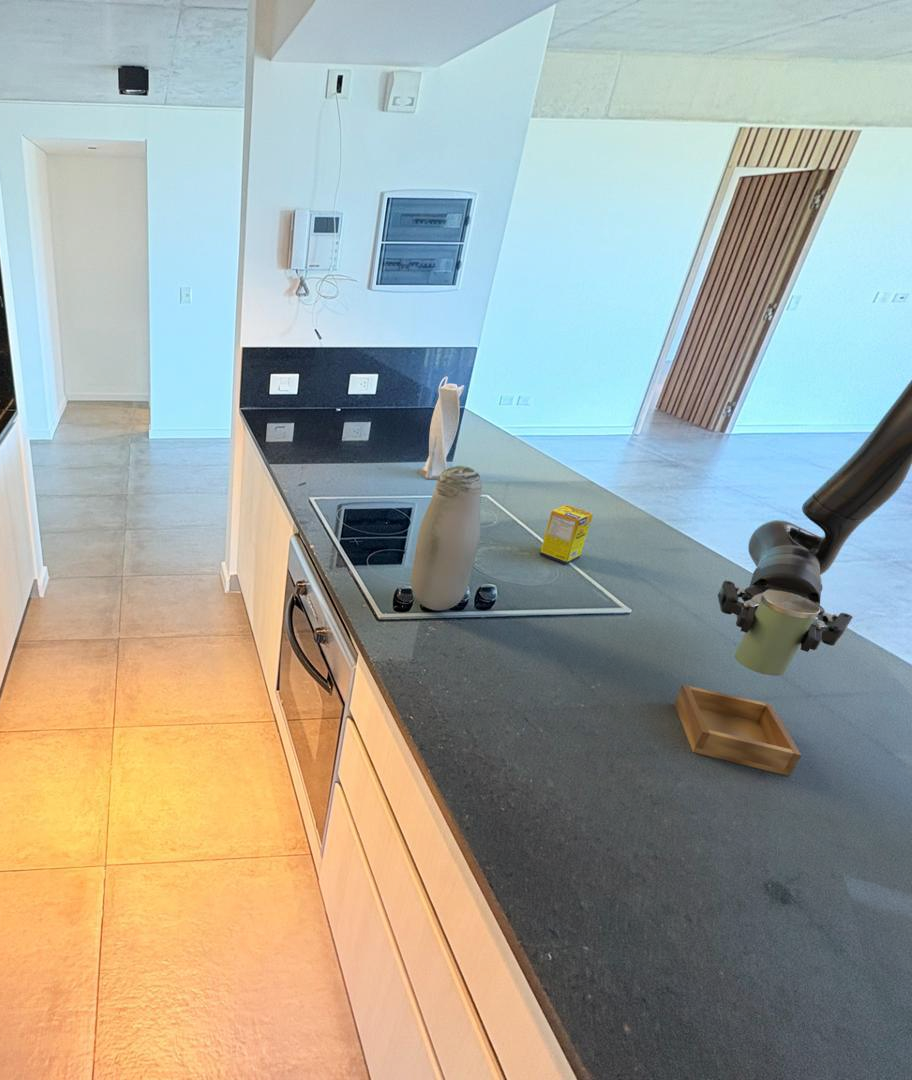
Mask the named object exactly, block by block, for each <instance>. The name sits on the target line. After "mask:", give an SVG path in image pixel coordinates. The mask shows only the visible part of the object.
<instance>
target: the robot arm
mask: <svg viewBox="0 0 912 1080" xmlns="http://www.w3.org/2000/svg"><path fill="white" fill-rule="evenodd" d="M911 467H912V379H911V380H910V381H909V383H908V384H907V385H906V387H905V388H904V389H903V391H902V392H901V393H900V394H899V396H898V398H897V399H896V400H895V401H894V403H893V404H892V405H891V406H890V408H889V409H888V410H887V412H886V413H885V414H884V415H883V417H881V419H880V421H878V423H877V425H876V426H875V427H874V429H873V430H872V431H871V432H870V434H869V435H868V436H867V438H865V440H864V441H863V442H862V444H861V445H860V446H859V448H857V450H856V451H855V452H854V453H853V454H852V455H851V456H850V457H849V458H848V459H847V460H846V461H845V463H844V464H842V465H841V466H840V467H839V468H838V469H837V470H836V471H835V472H834V473H833V474H832V475H831V476H830V477H829V478H828V479H827V480H826V481H825V482H824V483H823V484H822V485H821V486H819V487H818V488H817V489H816V490H815V491H814V492H813V493H812V494H811V495H809V497H808V498H807V499H806V500H805V501H804V502H803V504H802V506H801V512H802V513H803V515H804V516H805V517H806V518H807V519H809V521H811V522H812V523H814V524H815V525H816V526H817V527H819V528H820V529H821V530H822V532H823V533H824V535H823V536H819V535H817V534H815V533H814V532H811V531H809V530H807V529H805V528H803V527H801V526H799V525H796V524H795V523H792V522H790V521H787V520H783V519H782V520H781V519H776V520H770V521H767V522H765V523H762V524H761V525H759V526H758V527H757V528H756V529H755V530H754V531H753V533H752V534H751V536H750V538H749V540H748V547H747V548H748V549H747V550H748V554H749V557H750V559H751V560H752V561H753V563H754V565H755V566H756V567H755V569H754V571H753V573H752V576H751V580H750V583H749V586H748V587H746V588H745V589H743V588H740V587H739V586H736V585H735V583H734V582H732V581H730V580H724V581H723V582H722V585H721V587H720V589H719V592H718V593H717V599H718V603H719V608H720V611H721V612H722V613H723V614H725V615H732V614H734V615H735V616H736V622H735V625H736V627H737V628H740V632H743V633H745V632H746V633H747V632H748V630H749V628H750V626H751V624H752V622H753V620H754V616H755V612H756V610H757V608H758V605H759V603H760V601H761V597H762V595H763V593H764V592H766V591H772V590H775V591H784V592H789V593H792V594H796V595H799V596H802V597H804V598H806V599H809V600H811V601H812V602H814V603H815V604H817V605H818V606H819V608H820V612H819V614H818V616H817V617H815V619H814V621H813V622H812V624H811V626H810V628H809V630H808V632H807V633H806V635H805V637H804V639H803V641H802V642H801V644H800V651H803V652H807V653H808V652H809V651H810V650H811V651H816V650H817V649H818V647H819V646H820V644H821V643H823V644H825V645H828V646H835V645H836V643H837V642H838V641H839V640H840V638H841V637H842V636H843V634H844V633H845V632H846V630H847V628H848V627H849V625H850V623H851V621H852V619H853V616H852V615H851V614H849V613H845V612H840V613H839V614H831V613H828V612H826V611H825V608H823V606H822V605H821V596H822V591H823V584H822V576H821V575H823V574H825V573H826V572H827V571H828V570H829V569H830V568H831V566H832V565H833V564H834V562H835V560H836V559H837V557H838V555H839V553H840V552H841V550H842V548H843V547H844V545H845V543H846V542H847V540H848V539H849V537H850V536H851V535H852V534H853V533H854V532H855V530H856V529H857V528H858V527H859V526H860V525H861V524H862V523H864V522H865V521H866V520H867V519H868V518H869V517H870V516H872V515H873V514H874V513H875V512H876V511H877V510H878V509H880V508H881V507H882V506H883V505H884V504H885V503H887V502H888V501H889V500H890V499H891V498H892V497H893V496H894V495H895V494H896V492H898V491H899V489H900V487H902V485H903V483H904V482H905V480H906V478H907V476H908V474H909V471H910V469H911ZM739 598H741V600H742V601H743V602H741V601H739ZM822 622H823V623H824V624H823V623H822Z"/></svg>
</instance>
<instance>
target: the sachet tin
mask: <svg viewBox="0 0 912 1080" xmlns="http://www.w3.org/2000/svg"><path fill="white" fill-rule="evenodd" d="M819 612H820V608H819V606H818V605H817V604H815V603H814V602H812V601H811V600H809V599H806V598H804V597H802V596H799V595H796V594H792V593H789V592H784V591H775V590H772V591H766V592H764V593H763V595H762V597H761V601H760V603H759V605H758V608H757V610H756V612H755V616H754V620H753V622H752V624H751V626H750V628H749V630H748V632H747V633H746V632H744V634H743V636H742V637H741V639H740V642H739V644H738V646H737V648H736V650H735V652H734V656H733V657H734V659H735V660H736V661H737V662H738V663H739V664H740V665H741V666H743V667H744V668H747V669H749V670H751V671H753V672H756V673H758V674H762V675H766V676H772V677H773V676H774V677H777V676H779V677H780V676H783V675H785V673H786V671H787V670H788V668H789V666H790V665H791V663H792V661H793V659H794V657H795V655H796V653H797V652H798V650H799V648H800V647H801V642H802V641H803V639H804V637H805V635H806V633H807V632H808V630H809V628H810V626H811V624H812V622H813V621H814V619H815V617H817V616H818V614H819Z"/></svg>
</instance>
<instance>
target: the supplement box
mask: <svg viewBox="0 0 912 1080" xmlns="http://www.w3.org/2000/svg"><path fill="white" fill-rule="evenodd" d="M550 513H551V514H550V516H549V520H548V523H547V526H546V529H545V534H544V538H543V541H542V545H541V549H540V552H539V556H542V557H545V558H548V559H549V560H552V561H555V562H558V563H560V564H563V565H565V566H566V565H568V564H570V563H572V562H574V561H576V560H578V559H580V557H581V554H582V552H583V547H584V545H585V542H586V539H587V535H588V532H589V529H590V526H591V523H592V519H593V516H594V513H593V512H590V511H587V510H583V509H580V508H577V507H574V506H571V505H568V504H564V505H562V506H559V507H557V508H555V509H552V510H551V512H550Z"/></svg>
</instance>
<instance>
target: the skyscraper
mask: <svg viewBox="0 0 912 1080" xmlns="http://www.w3.org/2000/svg"><path fill="white" fill-rule="evenodd" d="M448 379H449V377H448V375H447V376H444V377H442V380H440V383H439V384H438V389H437V390H438V399H437V401H436V403H435V406H434V409H433V413H432V416H431V421H430V427H429V438H428V457H427V459H426V461H425V464H424V466H423V468H422V469H416V472H417V473H418V474H419V475H420V476H422V477H423V478H424V479H426V481H429V480H438V478H439V476H440V475H441V473H442V472H443V471H445V470H446V469H448V464H447V457H448V455H449V453H450V451H451V449H452V446H453V444H454V441H455V438H456V436H457V432H458V429H459V423H460V414H461V413H460V411H461V409H460V407H461V406H460V404H461V402H460V397H461V396H462V393H463V391H464V390H465V385H464V384H462V385H460V386H458V384H456V383H448ZM443 382H444V385H443ZM442 385H443V386H442Z"/></svg>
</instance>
